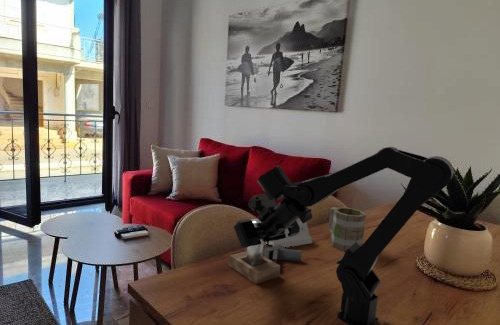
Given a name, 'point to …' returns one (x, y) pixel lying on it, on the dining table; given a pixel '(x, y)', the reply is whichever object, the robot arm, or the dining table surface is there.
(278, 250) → the v block
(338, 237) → the mug
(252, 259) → the axle
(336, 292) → the dining table surface
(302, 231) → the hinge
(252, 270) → the rectangular block with hole
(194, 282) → the dining table surface
